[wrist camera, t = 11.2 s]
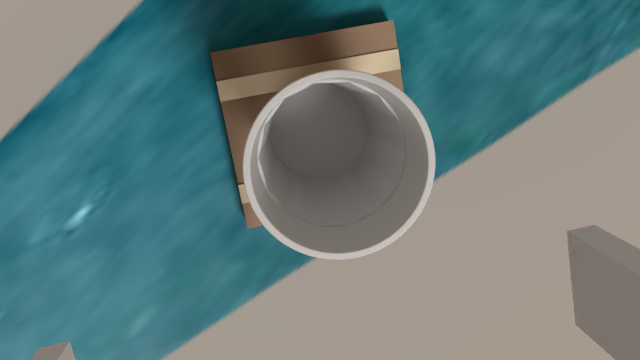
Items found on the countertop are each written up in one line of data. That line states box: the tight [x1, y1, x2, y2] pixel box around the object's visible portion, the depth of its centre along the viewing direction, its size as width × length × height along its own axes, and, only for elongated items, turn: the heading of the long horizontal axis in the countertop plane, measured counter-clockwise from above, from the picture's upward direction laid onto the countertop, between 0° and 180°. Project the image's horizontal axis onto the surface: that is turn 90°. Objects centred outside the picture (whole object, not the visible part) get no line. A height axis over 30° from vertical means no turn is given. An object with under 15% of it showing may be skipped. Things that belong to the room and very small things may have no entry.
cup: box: [243, 69, 435, 260], centre depth 30 cm, size 8×8×12 cm
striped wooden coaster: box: [210, 20, 403, 228], centre depth 37 cm, size 11×11×2 cm
